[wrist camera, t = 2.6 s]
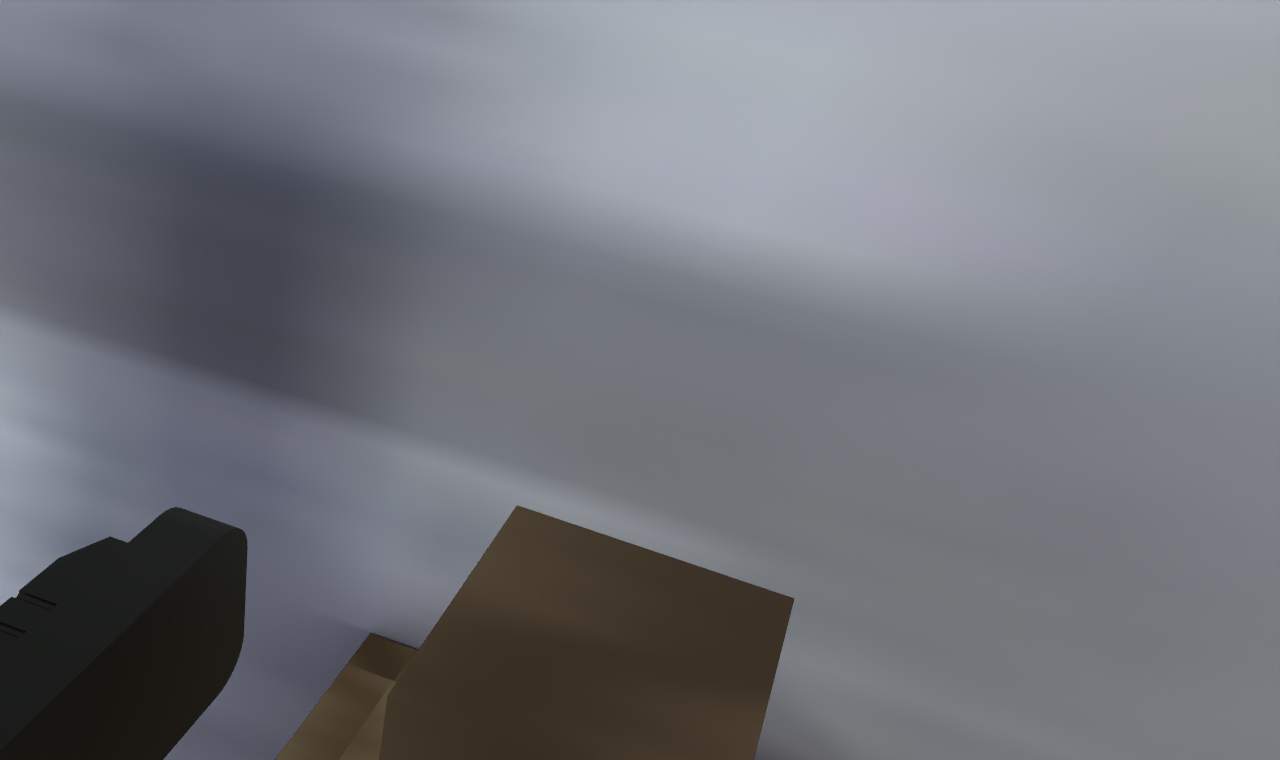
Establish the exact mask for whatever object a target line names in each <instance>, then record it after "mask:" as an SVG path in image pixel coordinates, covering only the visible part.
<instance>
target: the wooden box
mask: <svg viewBox="0 0 1280 760" xmlns="http://www.w3.org/2000/svg"><path fill="white" fill-rule="evenodd" d="M417 652H418V650H416V649H413V648H410V647H407V646H405V645H402V644H399V643H396V642H393V641H391V640H388V639H385V638H382V637H380V636H377V635H374V634H371V633H370V634H369V636H368V637H367V638H366V640H365V641H364V642H363V644H362V645H361V646H360V648H359V649H358V650H357V652H356V653H355V654H354V656H353V657H352V658H351V660H350V661H349V662H348V664H347V665H346V666H345V668H344V669H343V670H342V672H341V673H340V674H339V676H338V677H337V678H336V680H335V681H334V682H333V684H332V685H331V686H330V688H329V689H328V690H327V691H326V693H325V694H324V695H323V697H322V698H321V699H320V701H319V702H318V703H317V705H316V706H315V707H314V709H313V710H312V711H311V713H310V714H309V715H308V717H307V718H306V719H305V721H304V722H303V723H302V725H301V726H300V727H299V729H298V730H297V731H296V733H295V734H294V735H293V737H292V738H291V739H290V741H289V742H288V743H287V745H286V746H285V747H284V749H283V750H282V751H281V753H280V754H279V755H278V757H277V758H276V759H275V760H379V756H380V748H381V741H382V733H383V725H384V717H385V710H386V702H387V696H388V694H389V693H390V691H391V690H392V688H393V687H394V685H395V684H396V682H397V681H398V680H399V678H400V677H401V675H402V674H403V672H404V671H405V669H406V668H407V666H408V665H409V663H410V662H411V660H412V659H413V657H414V656H415V655H416V653H417Z"/></svg>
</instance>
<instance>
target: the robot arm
mask: <svg viewBox="0 0 1280 760" xmlns="http://www.w3.org/2000/svg"><path fill="white" fill-rule="evenodd" d="M246 569H247V538H246V535H245V533H244V531H243V530H241V529H239V528H236V527H234V526H231V525H228V524H225V523H222V522H219V521H216V520H213V519H211V518H208V517H205V516H202V515H199V514H196V513H193V512H191V511H188V510H185V509H182V508H178V507H175V508H171V509H169V510H167V511H165V512H164V513H162V514H161V515H160V516H159V517H157V518H156V519H155V520H154V521H153V522H152V523H151V524H149V525H148V526H147V527H146V528H145V529H144V530H142V531H141V532H140V533H139V534H138V535H137V536H136V537H134V538H133V539H132V540H131V541H130V542H129V543H127V542H124V541H121V540H118V539H115V538H113V537H108V538H105V539H103V540H101V541H98V542H96V543H94V544H91V545H89V546H86V547H84V548H82V549H79V550H77V551H75V552H72V553H70V554H68V555H65V556H63V557H60V558H58V559H57V560H56V561H55V562H53V563H52V564H51V565H50V566H49V567H47V568H46V569H45V570H44V571H42V572H41V573H40V574H39V575H38V576H36V577H35V578H34V579H33V580H32V581H30V582H29V583H28V584H27V585H25V586H24V587H23V588H22V589H21V590H19V594H18V596H17V597H16V598H13V597H11V598H10V599H8V600H7V601H6V602H5V603H4V604H2V605H1V606H0V760H163V759H164V758H165V757H166V755H167V754H168V753H169V752H170V751H171V750H172V748H173V747H174V746H175V745H176V744H177V743H178V741H179V740H180V739H181V738H182V737H183V736H184V734H185V733H186V732H187V731H188V730H189V729H190V727H191V726H192V725H193V724H194V723H195V722H196V720H197V719H198V718H199V717H200V716H201V715H202V713H203V712H204V711H205V710H206V709H207V708H208V706H209V705H210V704H211V703H212V702H213V700H214V699H215V698H216V697H217V696H218V694H219V693H220V692H221V691H222V689H223V688H224V686H225V685H226V683H227V681H228V679H229V678H230V676H231V674H232V672H233V670H234V668H235V665H236V663H237V660H238V657H239V655H240V651H241V648H242V643H243V636H244V616H245V592H246Z"/></svg>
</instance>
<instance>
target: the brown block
mask: <svg viewBox="0 0 1280 760" xmlns="http://www.w3.org/2000/svg"><path fill="white" fill-rule="evenodd" d="M793 602H794V598H791V597H788V596H785V595H782V594H779V593H776V592H773V591H770V590H767V589H764V588H761V587H758V586H755V585H752V584H749V583H746V582H743V581H740V580H737V579H734V578H731V577H728V576H726V575H723V574H720V573H717V572H714V571H711V570H708V569H705V568H702V567H699V566H696V565H693V564H690V563H687V562H684V561H681V560H678V559H675V558H672V557H669V556H666V555H663V554H660V553H657V552H654V551H651V550H648V549H645V548H642V547H639V546H636V545H633V544H630V543H627V542H624V541H621V540H619V539H616V538H613V537H610V536H607V535H604V534H601V533H598V532H595V531H592V530H589V529H586V528H583V527H580V526H577V525H574V524H571V523H568V522H565V521H562V520H559V519H556V518H553V517H550V516H547V515H544V514H541V513H538V512H535V511H532V510H529V509H526V508H523V507H520V506H516V508H515V509H514V511H513V512H512V514H511V515H510V516H509V518H508V519H507V521H506V522H505V524H504V525H503V527H502V528H501V530H500V531H499V533H498V534H497V536H496V537H495V538H494V540H493V541H492V543H491V544H490V546H489V547H488V549H487V550H486V552H485V553H484V555H483V556H482V558H481V559H480V561H479V562H478V563H477V565H476V566H475V568H474V569H473V571H472V572H471V574H470V575H469V577H468V578H467V580H466V581H465V583H464V584H463V585H462V587H461V588H460V590H459V591H458V593H457V594H456V596H455V597H454V599H453V600H452V602H451V603H450V605H449V606H448V608H447V609H446V610H445V612H444V613H443V615H442V616H441V618H440V619H439V621H438V622H437V624H436V625H435V627H434V628H433V630H432V631H431V633H430V634H429V635H428V637H427V638H426V640H425V641H424V643H423V644H422V646H421V647H420V649H419V650H418V652H417V653H416V655H415V656H414V657H413V659H412V660H411V662H410V663H409V665H408V666H407V668H406V669H405V671H404V672H403V674H402V675H401V677H400V678H399V680H398V681H397V682H396V684H395V685H394V687H393V688H392V690H391V691H390V693H389V694H388V696H387V702H386V710H385V717H384V725H383V733H382V741H381V748H380V756H379V760H754V756H755V752H756V749H757V745H758V741H759V737H760V733H761V729H762V725H763V721H764V717H765V713H766V709H767V705H768V701H769V697H770V693H771V689H772V685H773V681H774V677H775V673H776V669H777V665H778V661H779V657H780V654H781V650H782V646H783V642H784V638H785V634H786V630H787V626H788V622H789V618H790V614H791V610H792V606H793Z"/></svg>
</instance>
